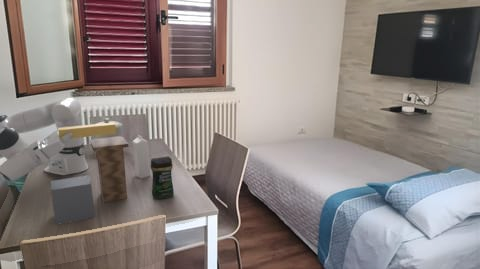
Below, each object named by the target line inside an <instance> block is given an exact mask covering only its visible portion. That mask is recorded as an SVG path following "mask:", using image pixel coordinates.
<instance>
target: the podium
mask: <svg viewBox="0 0 480 269" xmlns="http://www.w3.org/2000/svg"><path fill="white" fill-rule="evenodd" d="M50 192H51V193H50V194H51V200H52V206H53V213H54V214H53V215H54V220H55V221H54V222H55V225H56V224H58V225H60V224H59V223H63V224H66V222H68V223H71V222H70V221H73V222H76V221H75V220H77V221H81V219H82V220H86V218H87V219H91V217H92V218H95V217H96V216H95V215H96V214H95V204H94V196H93V188H92V183H91V178H90V175H89V174H88V175H81V176H75V177H69V178H63V179H56V180H55V179H54V180H51V181H50Z"/></svg>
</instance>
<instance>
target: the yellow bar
mask: <svg viewBox="0 0 480 269" xmlns="http://www.w3.org/2000/svg"><path fill="white" fill-rule="evenodd" d="M68 132H71V133H72V134H73V136H71V137H70V138H69V139H71V138H80V137H82V138H87V137H88V138H89V137H95V136H97V135H106V134H115V133H116V127H115V123H114V122H112V123H102V124H96V123H94V124H85V125H84V124H83V125H82V124H81V125H79V126H72V127H62V128H58V133H59V137H60V138H61V137H63V136H64V135H66V133H68Z"/></svg>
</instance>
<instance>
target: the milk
mask: <svg viewBox="0 0 480 269" xmlns="http://www.w3.org/2000/svg"><path fill="white" fill-rule="evenodd" d="M132 148H133V150H132V151H133V162H134V163H133V164H134V174H135V177H137V178H138V179H143V178H147V177H150V176H151V164H150V155H149V154H150V152H149V141H147V140H146V139H144V138H143V136H142V135H140V134H137V137H136V138H135V139H134V140H132Z"/></svg>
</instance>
